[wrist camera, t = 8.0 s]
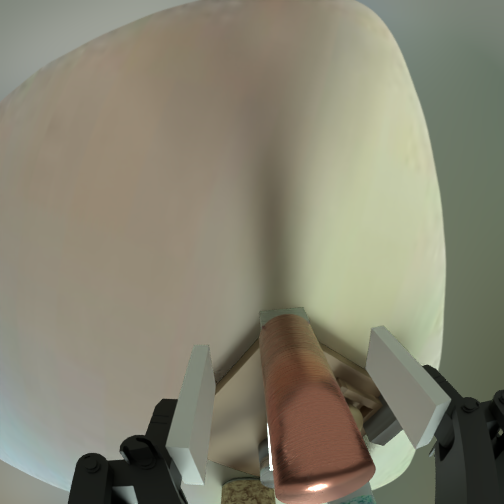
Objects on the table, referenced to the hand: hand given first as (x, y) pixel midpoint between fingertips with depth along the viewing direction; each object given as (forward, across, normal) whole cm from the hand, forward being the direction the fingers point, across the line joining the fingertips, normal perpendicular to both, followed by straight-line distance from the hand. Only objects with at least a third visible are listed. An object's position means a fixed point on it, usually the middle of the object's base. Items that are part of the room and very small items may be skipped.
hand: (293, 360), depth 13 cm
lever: (+4, 0, -9) cm, 10 cm away
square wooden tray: (+8, +1, -14) cm, 17 cm away
